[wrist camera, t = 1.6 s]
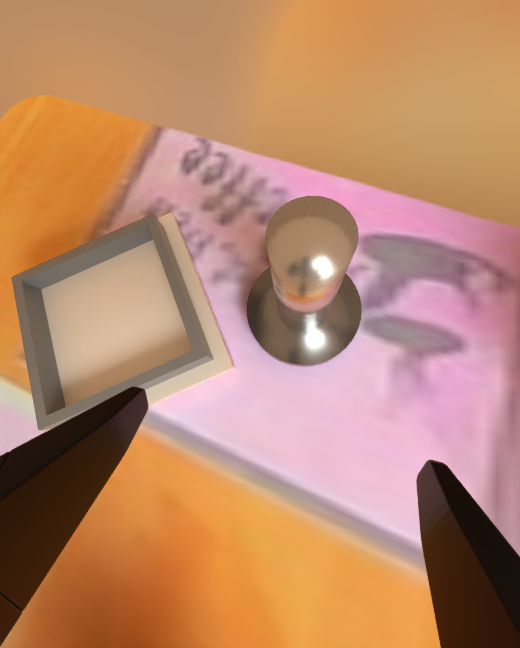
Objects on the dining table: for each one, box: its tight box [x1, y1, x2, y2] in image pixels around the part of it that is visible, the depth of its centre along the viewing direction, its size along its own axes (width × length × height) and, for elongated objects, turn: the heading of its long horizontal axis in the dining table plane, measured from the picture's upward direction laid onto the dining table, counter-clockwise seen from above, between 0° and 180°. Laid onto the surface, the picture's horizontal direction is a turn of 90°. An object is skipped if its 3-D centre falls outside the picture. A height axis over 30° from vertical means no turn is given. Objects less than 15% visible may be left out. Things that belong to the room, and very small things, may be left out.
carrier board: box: [12, 212, 235, 432], centre depth 24 cm, size 16×16×3 cm
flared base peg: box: [247, 196, 361, 366], centre depth 18 cm, size 9×9×12 cm
